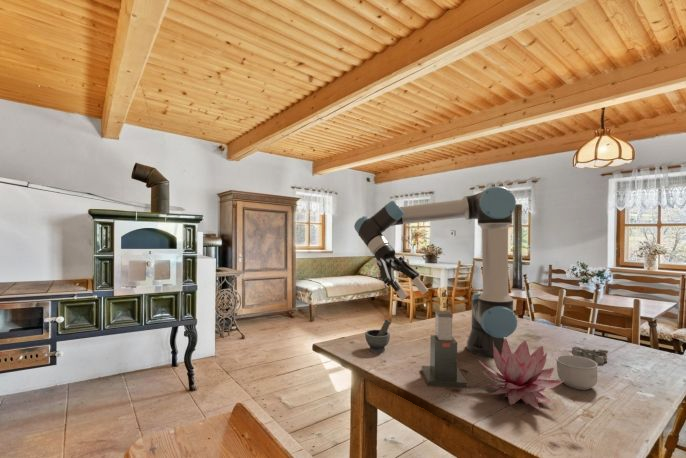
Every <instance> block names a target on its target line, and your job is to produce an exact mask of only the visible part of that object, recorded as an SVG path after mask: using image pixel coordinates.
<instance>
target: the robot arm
mask: <svg viewBox="0 0 686 458" xmlns="http://www.w3.org/2000/svg"><path fill="white" fill-rule="evenodd" d="M516 205H517V201H516V198H515V195H514V193H513V192H512V191H511V190H509V189H508V188H507V187H504V186H490V187H487V188H486V189H484V190H483V191H481V192H478V193H476V194H472V195H467V196H463V197H462V198H461V199H454V200H445V201H437V202H430V203H428V202H427V203H421V204H414V205H406V206H405V205H404V206H399V204H398V203H397V202H396V201H395V200H391V201H389V202H388V203H387V204H385V205H384V206H383V207H382V208H380V209H379V210H378V211H377V212H376V213H375V214H373V215H372V216H371V217H369V216H368V215H364V216H362V217H360V218H358V219H357V220H356V221H355V223H354V225H353V227H354V230H355V231H356V233H357V235H358V236H359V237H360V239H361V240H362V241H363V242H364V244H365V246H366V247H367V248H368V250H369V251H370V253H371V254H372V255H373V256H374V258H375V260H376V261H377V262H376V265H377V267H378V269H379V271H380V272H379V273H380V276H381V277H382V281H383V284H386V287H390V286H391V288H392V289H393V290H394V292H395V293H396V295H397V296H398V297H399V298H400V300H401V301H404V300H405V299H406V298H407V297H408V296H409V295H408V293H407V291H405V289H404V288H403V286H402V285H401V283H400V282H399V281H398V279H395V272H394V271H396V272H400V273H402V274H403V275H405V276H406V277H407V278H409V279H411V280H412V281H411V282H412V283H413V284H414V286H415V287H416V288H417V290H418V291H419V292H420V294H421V295H422V296H424V295H425V294H427V292H428V291H429V289H428V288H427V287H426V285H425V284H424V282H423V281H422V280H421V279H420V278H419V277H420V272H419V271H418V270H416V269H415V268H414V267H413V266H411V265H410V264H409V263H408V262H407V261H406V260H404V259H403V257H402V256H400V257H398V258H397V257H396V250H395V249H394V248H393V246H392V245H391V244H390V243H389V241H388V240H387V239H386V237H385V235H383V234H382V233H383V232H385V231H386V230H387V229H389V228H390V227H394V226H401V225H409V224H417V223H427V222H435V221H444V220H454V219H463V218H464V219H466V220H477V225H478V226H479V227H480V228H481V236H482V237H481V238H482V239H481V240H482V244H481V245H482V246H481V247H482V249H481V250H482V251H481V252H482V254H481V255H482V256H481V257H482V258H481V259H482V292H481V293H479V292H477V293H473V294H472V295H471V301H470V302H471V328H470V329H471V331H470V332H469V335H468V338H467V341H466V349H467V350H468V351H469V352H471V353H474V354H477V355H479V356H484V357H491V358H492V357H493V354H494V349H493V343H494V347H496V349H497V350H498V352H499V353H500V355H501V356H502V354H501V353H502V347H503V342H504V340H505V338H508V337H509V336H511V335H512V334H513V333H515V331H516V329H517V327H518V319H517V316H516V315H517V314H516V313H515V312H514V298H513V297H512V296H511V295H510V294H509V250H508V249H509V243H508V242H509V241H508V240H509V236H508V234H509V231H508V230H509V227H511V225H513V213H514V211H515V209H516ZM493 358H494V357H493Z"/></svg>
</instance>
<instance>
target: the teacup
mask: <svg viewBox="0 0 686 458" xmlns="http://www.w3.org/2000/svg"><path fill="white" fill-rule="evenodd" d="M555 361H556V370H557V377H558V378H559V380H564V382H563V383H564V384H565V385H566V386H567V387H570V388H571V389H576V390H581V391H582V390H583V391H587V390H590V389H591V388H593V387H595V386H597V383H598V367H599V366H598V364H599V363H596V362H595V361H593V360H591V359H588V358H585V357H580V356H574V355H573V354H572V353H567V354H562V355H558V356H556V358H555Z"/></svg>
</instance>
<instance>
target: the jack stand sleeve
mask: <svg viewBox="0 0 686 458" xmlns="http://www.w3.org/2000/svg"><path fill="white" fill-rule="evenodd" d="M429 348H430V349H429V350H430V353H429V355H430V358H429V363H430V364H429V365H421V368H420V369H421V372H422V374H423V377H424V380H425V382H426V384H427V386H428V387H445V388H447V387H448V388H468V381H467V380H466V379H465V376H464V375H463V374H462V372H461V371H460V369H459V368H458V342H457V340H456V339H455V338H454V337H453V336H452V341H437V339H436V338H435V334H430V347H429Z"/></svg>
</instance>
